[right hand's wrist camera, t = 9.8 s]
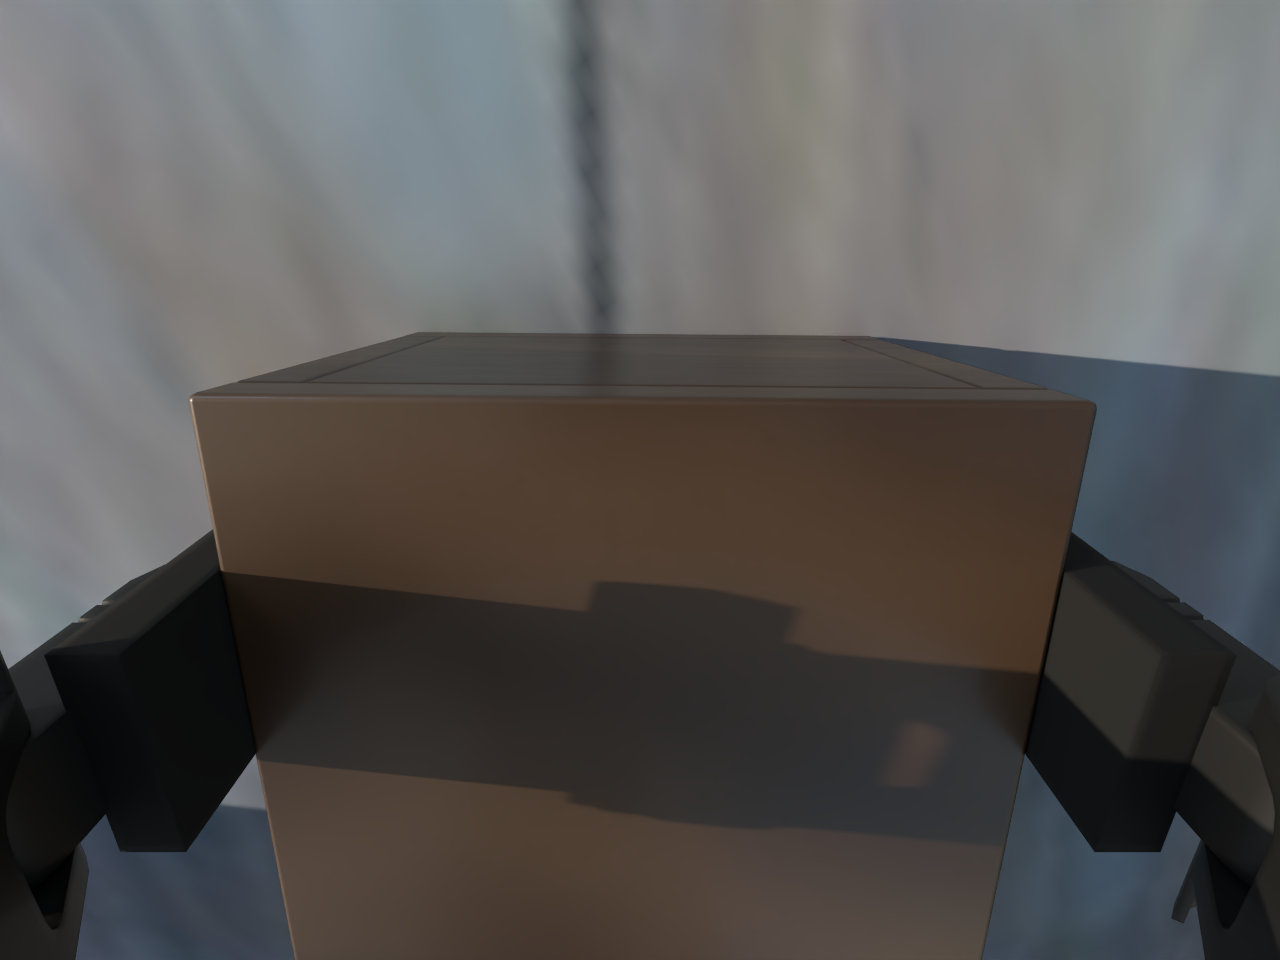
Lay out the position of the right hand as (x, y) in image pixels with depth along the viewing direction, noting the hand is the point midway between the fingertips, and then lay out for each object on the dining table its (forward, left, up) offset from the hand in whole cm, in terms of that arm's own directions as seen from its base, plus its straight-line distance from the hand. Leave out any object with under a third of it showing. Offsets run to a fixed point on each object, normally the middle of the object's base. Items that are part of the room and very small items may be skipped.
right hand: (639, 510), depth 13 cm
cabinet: (+4, +7, -3) cm, 8 cm away
